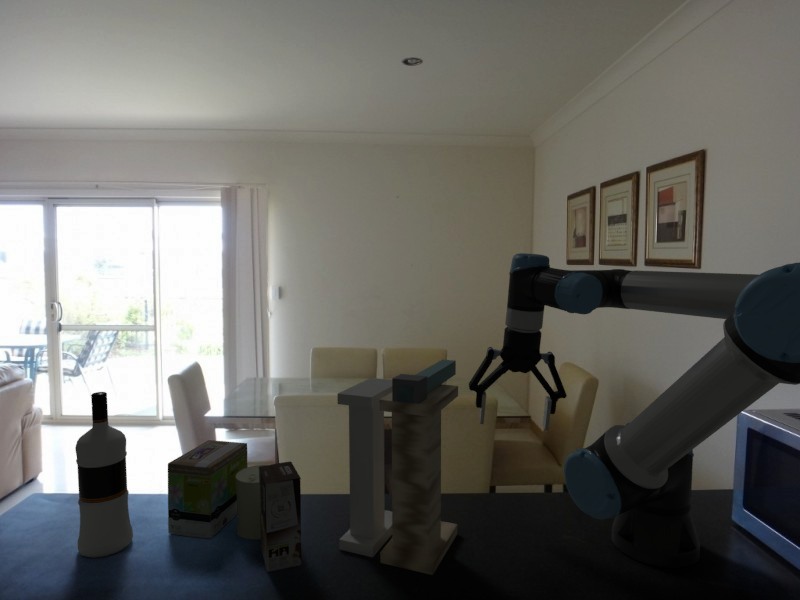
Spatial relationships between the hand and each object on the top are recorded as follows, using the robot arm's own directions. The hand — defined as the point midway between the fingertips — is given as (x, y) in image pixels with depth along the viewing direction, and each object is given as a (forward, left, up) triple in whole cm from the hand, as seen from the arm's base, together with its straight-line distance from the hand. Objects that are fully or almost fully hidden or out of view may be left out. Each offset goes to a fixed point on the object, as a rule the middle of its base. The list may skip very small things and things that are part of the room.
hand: (513, 424), depth 113 cm
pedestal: (+13, +21, -19) cm, 32 cm away
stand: (+24, +21, -19) cm, 37 cm away
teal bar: (+13, +16, +11) cm, 24 cm away
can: (+46, +27, -20) cm, 57 cm away
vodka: (+69, +44, -19) cm, 84 cm away
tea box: (+58, +28, -20) cm, 67 cm away
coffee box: (+36, +34, -19) cm, 53 cm away
